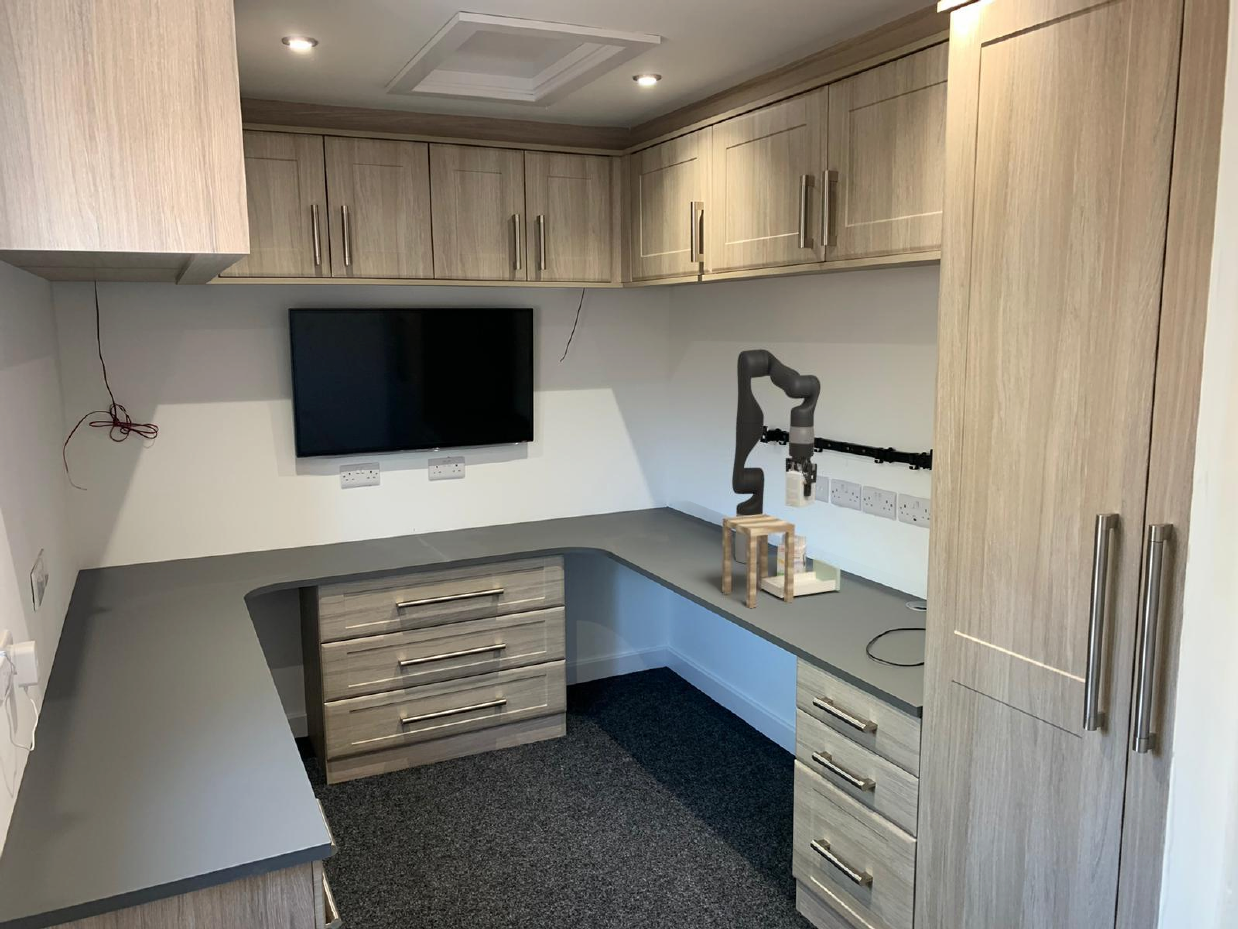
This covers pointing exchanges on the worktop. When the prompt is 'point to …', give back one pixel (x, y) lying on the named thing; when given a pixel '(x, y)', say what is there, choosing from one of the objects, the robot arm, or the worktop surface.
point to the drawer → (807, 580)
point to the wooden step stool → (753, 528)
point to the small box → (798, 490)
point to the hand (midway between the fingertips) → (800, 493)
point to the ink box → (798, 556)
